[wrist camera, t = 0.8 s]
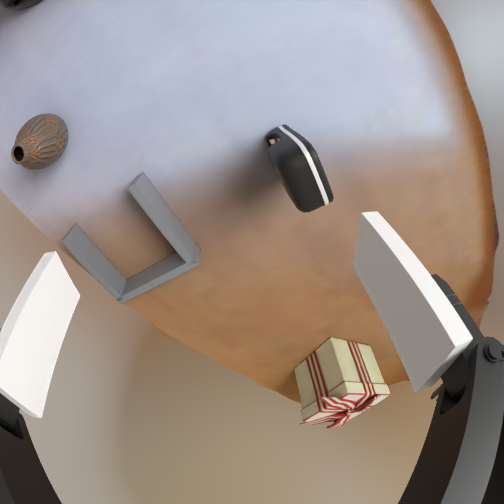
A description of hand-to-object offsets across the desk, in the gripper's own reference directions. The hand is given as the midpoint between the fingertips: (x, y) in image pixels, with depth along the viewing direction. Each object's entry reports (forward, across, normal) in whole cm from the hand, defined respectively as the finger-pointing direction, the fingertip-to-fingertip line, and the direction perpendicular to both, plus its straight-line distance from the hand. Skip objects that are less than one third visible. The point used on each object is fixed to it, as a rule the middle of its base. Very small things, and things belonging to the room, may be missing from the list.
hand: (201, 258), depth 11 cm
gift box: (+24, +20, -53) cm, 61 cm away
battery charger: (+25, +8, -4) cm, 26 cm away
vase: (+25, -21, +4) cm, 33 cm away
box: (+24, -14, -13) cm, 31 cm away
